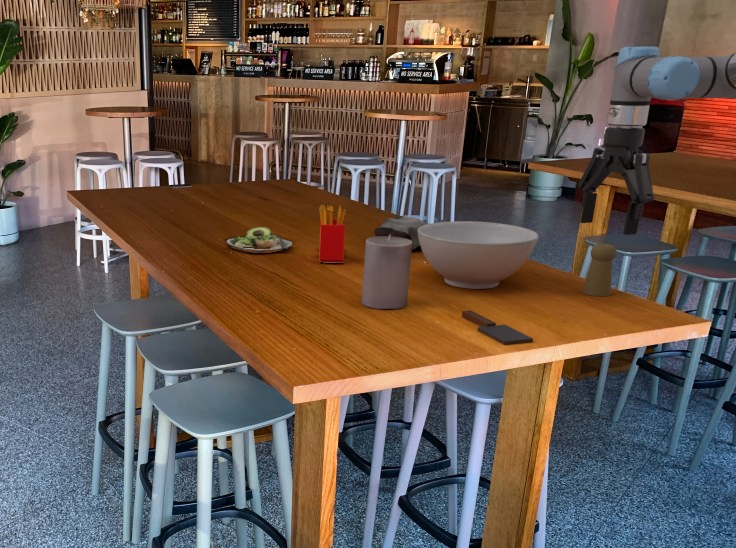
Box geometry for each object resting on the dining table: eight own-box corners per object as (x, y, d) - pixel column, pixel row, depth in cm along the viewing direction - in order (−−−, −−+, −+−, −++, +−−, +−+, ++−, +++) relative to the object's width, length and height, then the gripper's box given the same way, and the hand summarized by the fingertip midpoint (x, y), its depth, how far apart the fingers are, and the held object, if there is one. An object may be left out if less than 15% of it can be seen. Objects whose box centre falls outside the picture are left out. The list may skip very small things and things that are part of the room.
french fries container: (317, 264, 206) (319, 209, 200) (316, 256, 214) (318, 204, 209) (344, 264, 205) (347, 210, 200) (343, 256, 213) (345, 204, 208)
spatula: (532, 342, 146) (533, 335, 146) (504, 344, 145) (505, 338, 145) (478, 315, 163) (479, 309, 162) (452, 317, 161) (453, 311, 161)
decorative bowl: (543, 278, 191) (551, 228, 186) (513, 304, 170) (521, 248, 166) (435, 264, 205) (440, 217, 200) (396, 286, 184) (400, 235, 179)
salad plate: (309, 250, 220) (310, 234, 219) (257, 258, 212) (257, 241, 210) (269, 239, 236) (270, 223, 234) (219, 246, 227) (218, 230, 225)
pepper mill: (575, 290, 180) (583, 242, 176) (597, 288, 182) (606, 240, 178) (594, 297, 175) (603, 248, 171) (617, 295, 177) (626, 246, 172)
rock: (367, 241, 232) (369, 214, 229) (401, 239, 235) (403, 212, 232) (399, 254, 216) (401, 225, 213) (435, 252, 219) (438, 223, 216)
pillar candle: (378, 295, 177) (383, 228, 171) (416, 303, 170) (422, 234, 165) (352, 303, 171) (356, 234, 165) (389, 313, 164) (395, 241, 159)
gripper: (570, 122, 175) (555, 219, 183) (655, 131, 153) (634, 240, 161) (599, 122, 177) (583, 217, 185) (687, 130, 155) (664, 238, 163)
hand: (607, 228), depth 173 cm, fingers open, 13 cm apart
